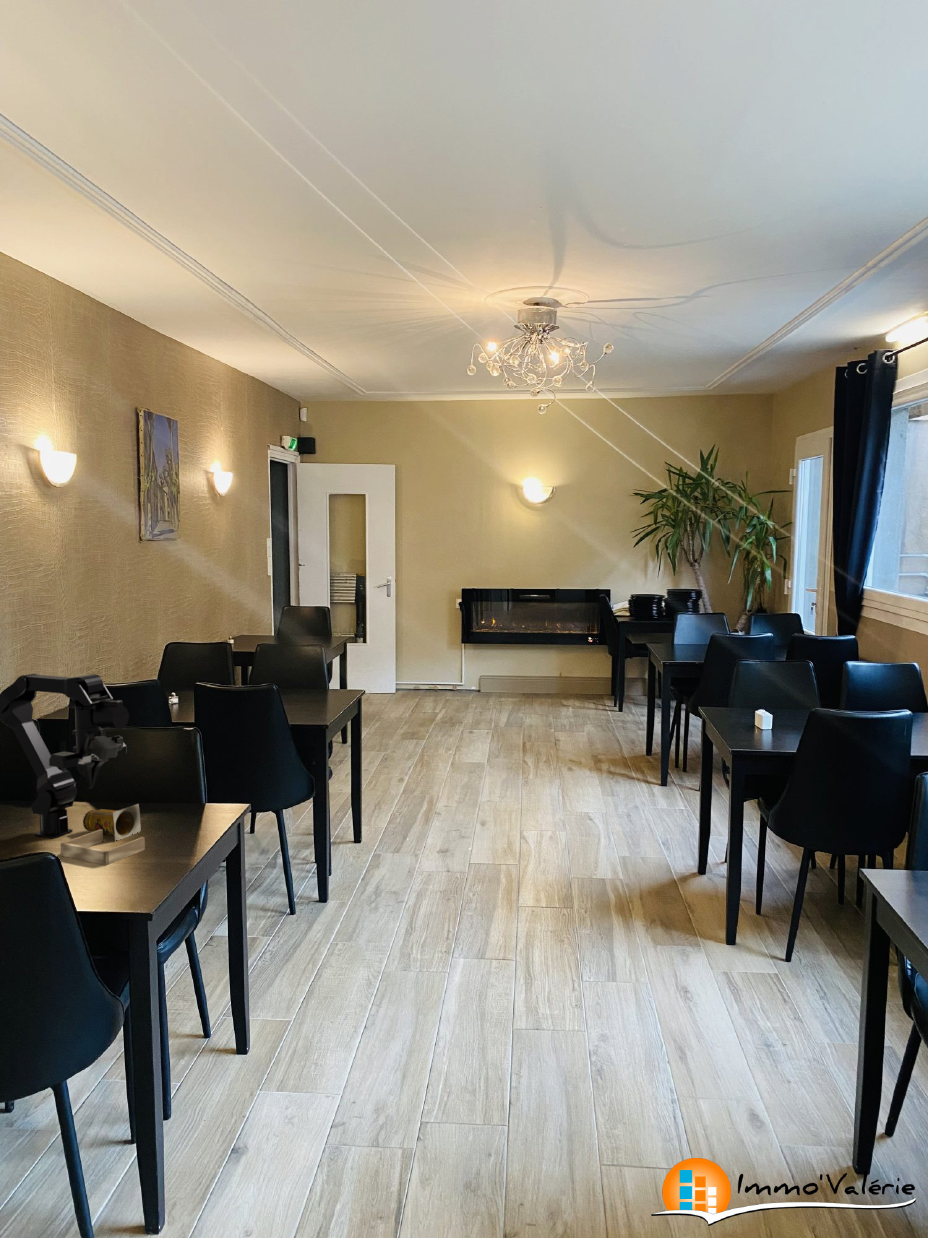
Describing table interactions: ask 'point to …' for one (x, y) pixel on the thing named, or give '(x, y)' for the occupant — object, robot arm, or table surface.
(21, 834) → the table surface
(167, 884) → the table surface
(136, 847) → the wooden bracket
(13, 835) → the table surface
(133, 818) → the condiment
